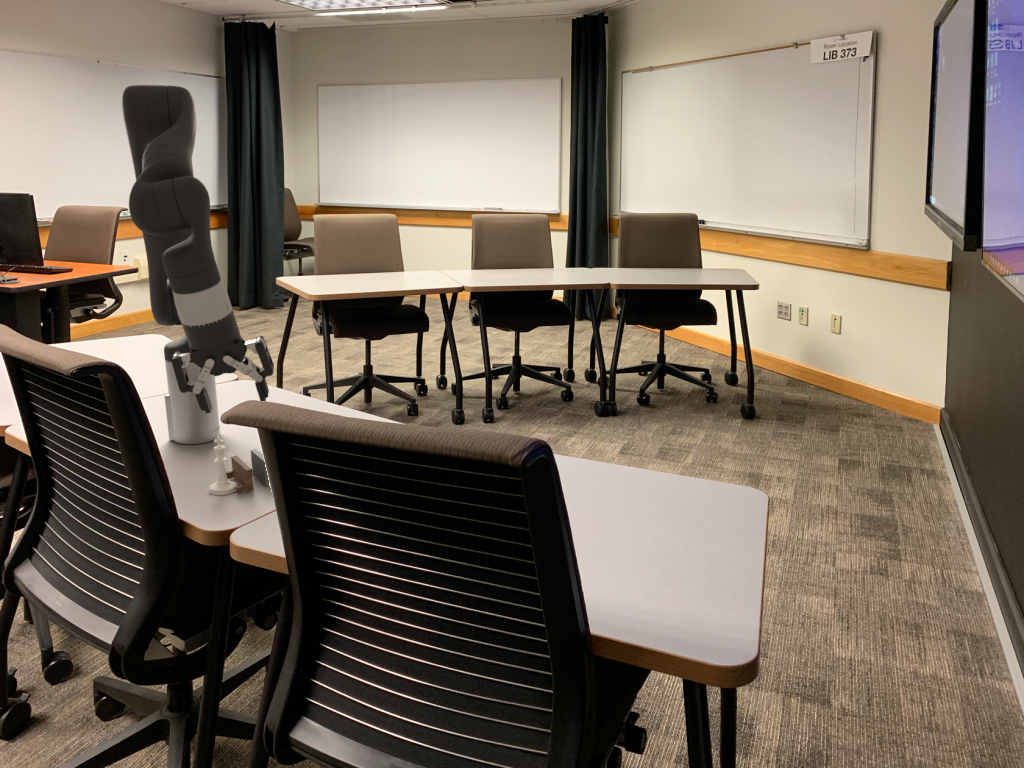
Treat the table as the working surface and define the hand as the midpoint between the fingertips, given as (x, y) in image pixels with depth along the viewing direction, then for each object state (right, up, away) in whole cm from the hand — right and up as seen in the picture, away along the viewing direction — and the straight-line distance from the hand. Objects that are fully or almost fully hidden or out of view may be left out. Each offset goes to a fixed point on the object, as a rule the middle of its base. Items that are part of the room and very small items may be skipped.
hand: (236, 405), depth 138 cm
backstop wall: (-2, -14, +23) cm, 27 cm away
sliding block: (-5, -15, +21) cm, 26 cm away
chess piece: (-8, -16, +19) cm, 26 cm away
